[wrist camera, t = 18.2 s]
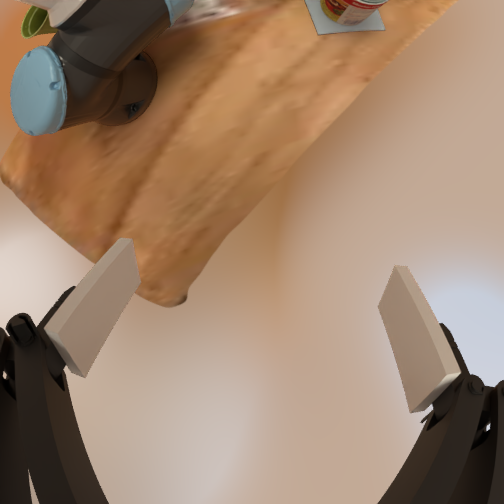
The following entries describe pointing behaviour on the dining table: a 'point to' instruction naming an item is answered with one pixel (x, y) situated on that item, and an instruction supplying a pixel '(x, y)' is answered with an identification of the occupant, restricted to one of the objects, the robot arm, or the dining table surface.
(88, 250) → the dining table surface
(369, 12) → the canned food
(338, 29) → the mat
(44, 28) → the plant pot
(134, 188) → the dining table surface
